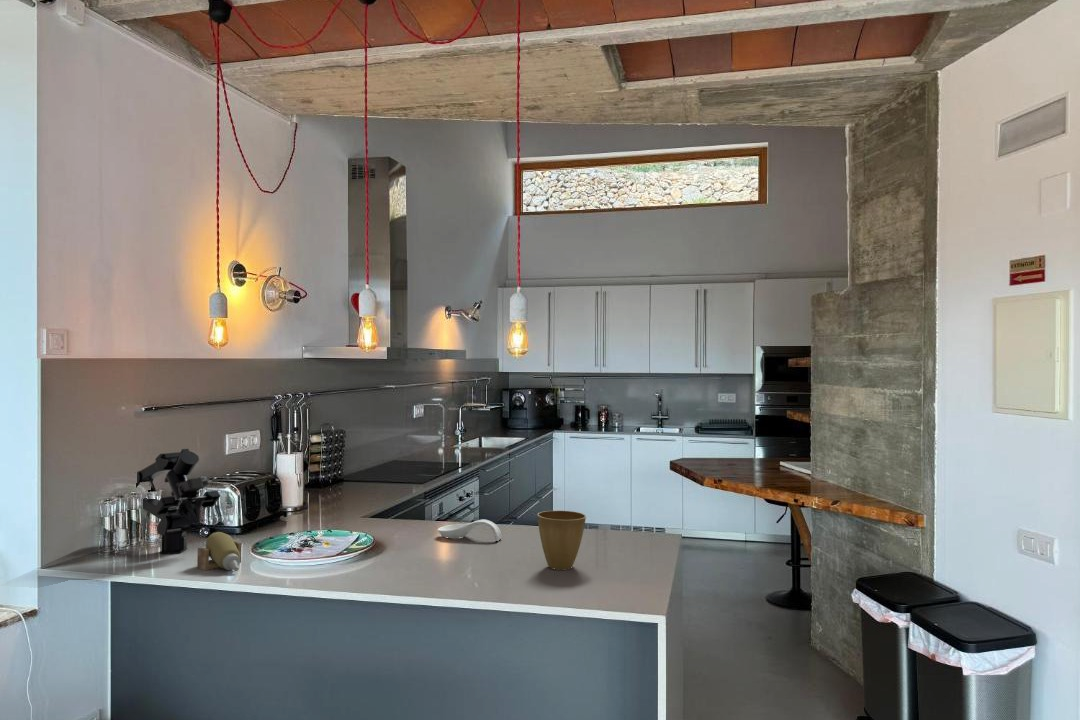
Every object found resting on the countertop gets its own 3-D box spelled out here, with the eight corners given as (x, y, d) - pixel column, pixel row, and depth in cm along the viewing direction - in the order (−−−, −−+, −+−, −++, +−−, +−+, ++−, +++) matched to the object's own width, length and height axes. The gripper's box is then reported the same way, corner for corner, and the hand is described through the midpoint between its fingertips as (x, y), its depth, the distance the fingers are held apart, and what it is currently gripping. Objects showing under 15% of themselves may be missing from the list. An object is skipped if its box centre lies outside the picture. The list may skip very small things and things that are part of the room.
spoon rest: (432, 540, 253) (432, 519, 253) (446, 533, 264) (446, 514, 264) (494, 545, 246) (494, 524, 246) (505, 538, 257) (506, 518, 257)
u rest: (197, 567, 213) (197, 547, 213) (233, 559, 223) (233, 540, 223) (205, 570, 211) (205, 549, 211) (241, 562, 220) (241, 542, 220)
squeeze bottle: (205, 556, 219) (225, 586, 206) (198, 535, 215) (219, 565, 203) (231, 544, 223) (253, 573, 211) (225, 523, 220) (247, 551, 208)
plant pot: (550, 575, 208) (550, 521, 209) (529, 563, 222) (529, 512, 222) (594, 570, 215) (594, 517, 215) (571, 558, 228) (571, 508, 228)
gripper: (160, 471, 220) (178, 511, 213) (218, 465, 235) (235, 503, 229) (147, 494, 225) (164, 534, 218) (204, 487, 240) (221, 524, 233)
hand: (197, 523), depth 224 cm, fingers closed
